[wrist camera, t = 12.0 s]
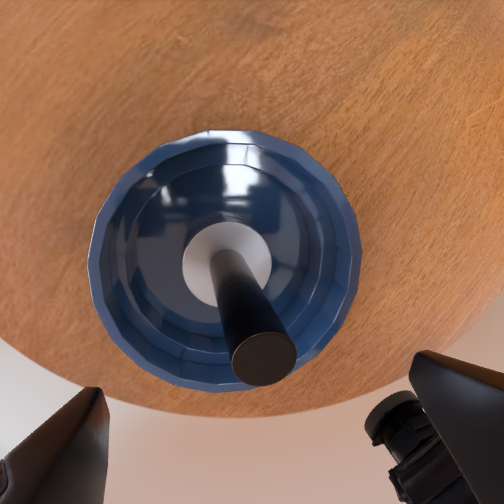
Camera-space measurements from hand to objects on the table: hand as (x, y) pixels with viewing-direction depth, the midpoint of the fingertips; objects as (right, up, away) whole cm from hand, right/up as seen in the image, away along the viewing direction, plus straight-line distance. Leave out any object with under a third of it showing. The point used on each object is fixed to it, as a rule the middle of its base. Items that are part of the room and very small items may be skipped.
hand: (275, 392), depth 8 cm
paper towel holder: (-2, +3, +12) cm, 12 cm away
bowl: (-3, +3, +12) cm, 13 cm away
